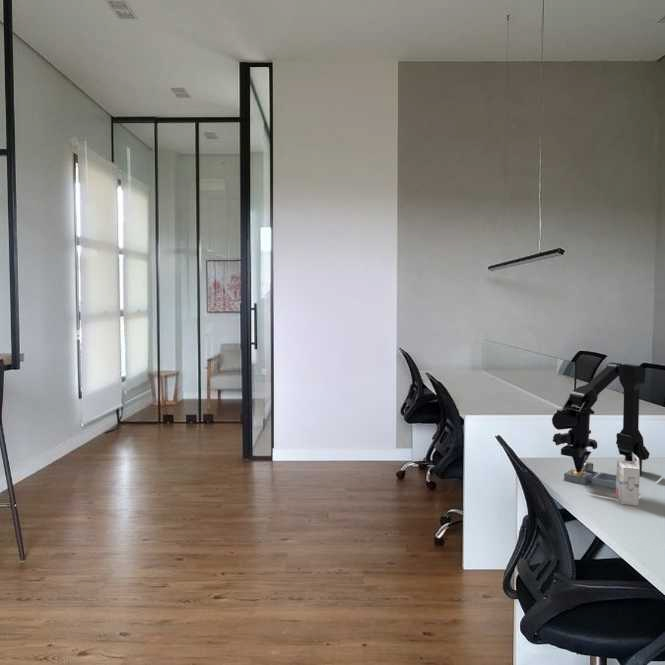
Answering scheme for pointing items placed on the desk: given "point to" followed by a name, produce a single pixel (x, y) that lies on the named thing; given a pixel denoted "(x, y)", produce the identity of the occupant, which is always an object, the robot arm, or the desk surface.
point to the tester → (579, 477)
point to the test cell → (588, 467)
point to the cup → (604, 480)
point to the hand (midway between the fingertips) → (578, 472)
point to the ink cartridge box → (628, 481)
